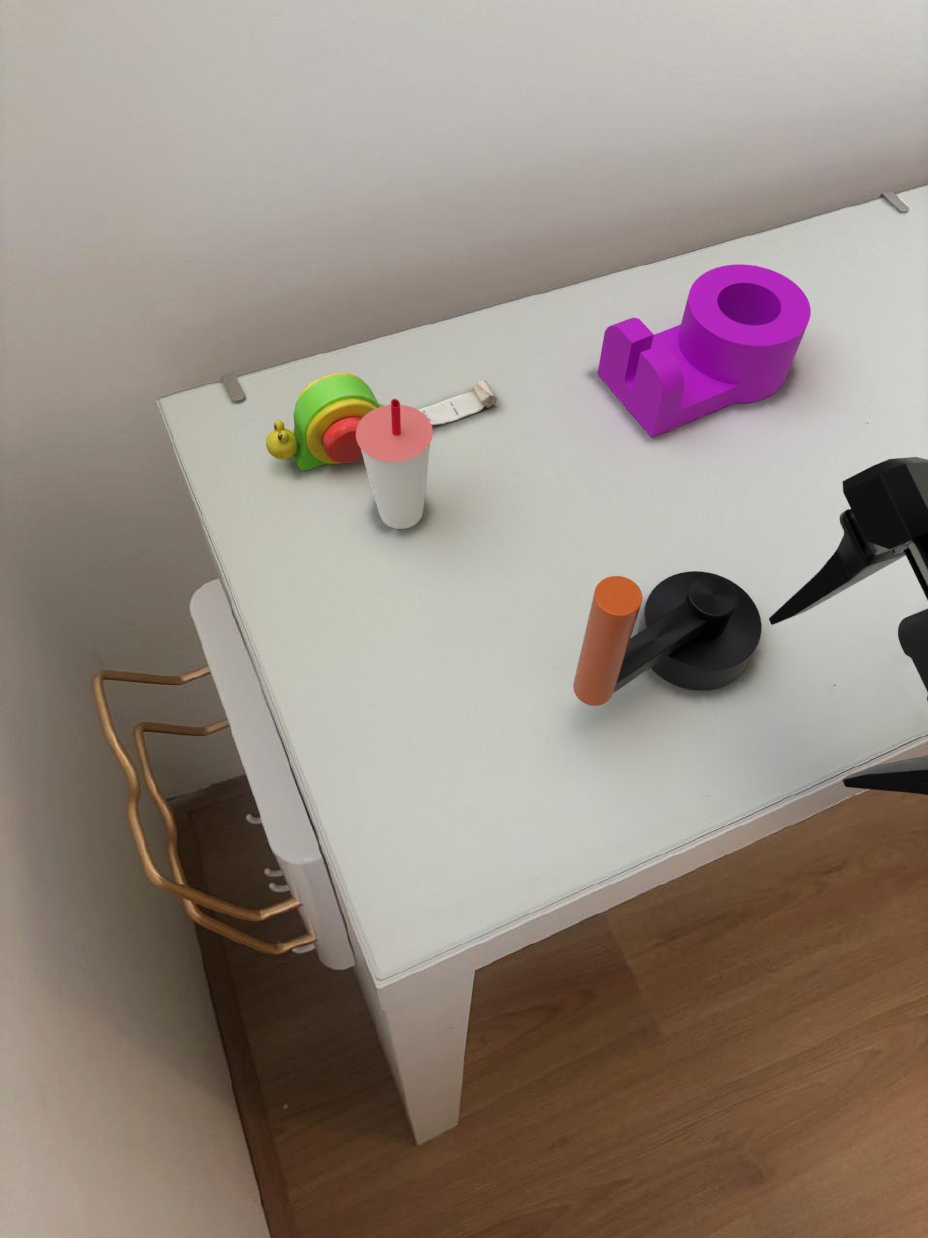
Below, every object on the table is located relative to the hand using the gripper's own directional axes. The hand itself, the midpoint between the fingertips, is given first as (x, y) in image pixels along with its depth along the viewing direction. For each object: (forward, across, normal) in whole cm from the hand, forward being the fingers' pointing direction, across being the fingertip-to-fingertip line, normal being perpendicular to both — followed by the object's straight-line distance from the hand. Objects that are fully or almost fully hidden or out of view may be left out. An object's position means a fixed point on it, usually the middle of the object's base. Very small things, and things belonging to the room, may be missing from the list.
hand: (808, 700), depth 49 cm
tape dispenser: (+10, -27, +28) cm, 40 cm away
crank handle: (+11, -6, +5) cm, 14 cm away
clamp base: (+11, -6, +11) cm, 17 cm away
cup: (+26, -24, +3) cm, 35 cm away
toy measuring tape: (+27, -31, +6) cm, 42 cm away
